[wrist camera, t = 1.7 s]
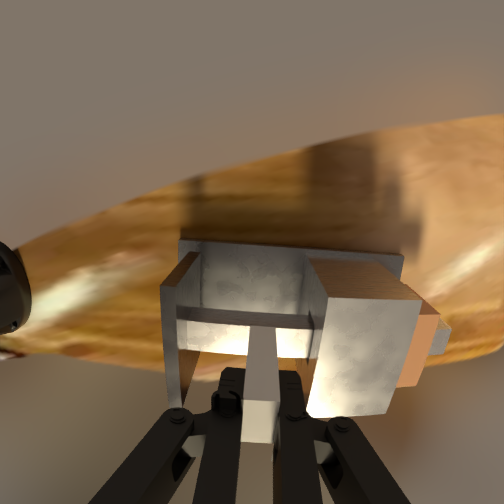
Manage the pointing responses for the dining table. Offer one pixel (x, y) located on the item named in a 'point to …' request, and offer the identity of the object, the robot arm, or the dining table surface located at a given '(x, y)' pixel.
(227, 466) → the robot arm
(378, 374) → the block
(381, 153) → the dining table surface
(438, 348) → the grey crossbar bracket
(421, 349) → the block
